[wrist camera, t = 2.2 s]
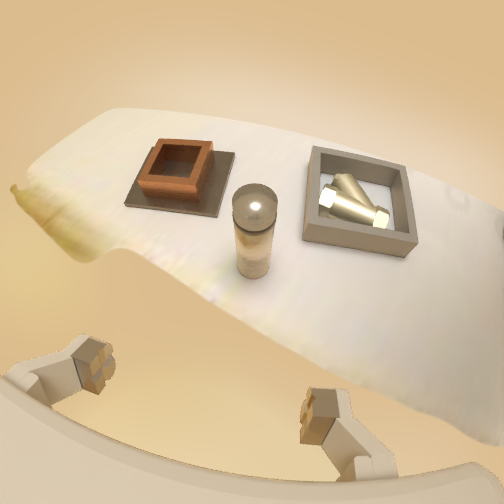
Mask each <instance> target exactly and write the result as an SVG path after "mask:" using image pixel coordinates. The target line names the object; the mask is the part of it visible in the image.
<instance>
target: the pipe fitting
mask: <svg viewBox="0 0 504 504" xmlns="http://www.w3.org/2000/svg"><path fill="white" fill-rule="evenodd" d="M318 216H320V217H324V218H328V217H329V218H331V219H336V220H341V221H347V222H352V223H358V224H363V225H368V226H373V227H379V228H384V229H386V226H387V224H388V220H389V216H390V213H389V211H388V210H386V209H384V208H382V207H380V206H377V207H375V206H374V205H373V204H372V202H371V201H370V199H369V198H368V196H367V195H366V194H365V192H364V191H363V189H362V188H361V187H360V185H359V184H358V182H357V181H356V180H355V178H354V177H353V176H352V175H351V174H349V173H346V174H339V173H338V174H336V175H334V179H333V182H332V184H331V185H329V184H325V186H324V188H323V190H322V193H321V195H320V198H319V209H318Z"/></svg>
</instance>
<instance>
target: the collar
mask: <svg viewBox="0 0 504 504" xmlns="http://www.w3.org/2000/svg"><path fill="white" fill-rule="evenodd" d="M234 158H235V153H233V152H223V151H213V143H212V141H200V140H183V139H158V141H157V143H156V145H155V147H152V148H151V150H150V152H149V154H148V156H147V157H146V159H145V161H144V163H143V165H142V167H141V169H140V171H139V173H138V175H137V177H136V179H135V181H134V183H133V185H132V187H131V189H130V191H129V193H128V196H127V198H126V200H125V202H124V204H125V206H130V207H138V208H147V209H155V210H163V211H171V212H179V213H187V214H194V215H202V216H209V217H217V216H218V213H219V209H220V206H221V202H222V198H223V195H224V192H225V188H226V185H227V181H228V178H229V174H230V171H231V168H232V164H233V161H234Z"/></svg>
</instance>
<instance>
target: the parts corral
mask: <svg viewBox="0 0 504 504" xmlns="http://www.w3.org/2000/svg"><path fill="white" fill-rule="evenodd" d="M320 172H322V173H327V174H333V175H336V174H338V173H339V174H346V173H349V174H351V175H352V176H353V177H354V178H355V179H358V180H363V181H367V182H372V183H376V184H381V185H385V186H389V187H390V189H391V197H392V204H393V213H394V222H395V231H394V230H389V229H384V228H379V227H373V226H368V225H363V224H358V223H352V222H347V221H341V220H336V219H330V218H324V217H318V209H319V188H320ZM302 240H304V241H310V242H317V243H323V244H329V245H335V246H341V247H347V248H353V249H359V250H365V251H370V252H376V253H382V254H388V255H393V256H399V257H405V256H406V255H407V254H408V253H409V252H410V251H411V250H412V249H413V248H414V247H415V246H416V245H417V244H418V238H417V230H416V223H415V216H414V210H413V204H412V198H411V192H410V187H409V182H408V177H407V173H406V168H405V166H402V165H399V164H395V163H391V162H387V161H383V160H379V159H375V158H371V157H367V156H362V155H358V154H353V153H348V152H344V151H339V150H334V149H328V148H323V147H318V146H313V147H312V152H311V156H310V161H309V166H308V180H307V193H306V205H305V217H304V228H303V238H302Z"/></svg>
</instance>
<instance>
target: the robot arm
mask: <svg viewBox="0 0 504 504" xmlns="http://www.w3.org/2000/svg"><path fill="white" fill-rule="evenodd" d="M112 352H113V348H112V345H111V344H110V343H107V342H104V341H101V340H99V339H97V338H94V337H90V336H88V335H86V334H80V335H79V336H78V337H76V338H75V339H74V340H73V341H72V342H71V343H70V344H69V345H68V346H67V347H66V348H65V349H64V350H63V351H62V352H59V351H58V352H54V353H51V354H47V355H43V356H40V357H36V358H33V359H29V360H26V361H22V362H18V363H17V364H15V365H14V366H13V367H12V368H11V369H10V370H9V371H8V372H7V373H6V374H5V375H4V376H3V377H2V376H1V375H0V504H504V489H503V486H502V484H501V482H500V480H499V478H498V477H497V476H496V475H494V474H493V473H492V472H490V471H489V470H487V469H486V468H485V467H483V466H482V465H480V464H478V463H476V462H470V463H465V464H462V465H458V466H454V467H450V468H446V469H441V470H437V471H432V472H427V473H422V474H416V475H411V476H404V477H399V476H398V472H397V468H396V463H395V459H394V455H393V453H392V452H391V451H390V450H389V449H388V448H387V447H386V446H385V445H384V444H383V443H382V442H381V441H379V440H378V439H377V438H376V437H375V436H374V435H373V434H372V433H371V432H370V431H369V430H368V429H367V428H366V427H365V426H364V425H363V424H362V423H361V422H360V421H359V420H357V419H353V413H352V408H351V403H350V398H349V393H348V390H347V389H336V388H335V389H334V388H321V387H309V389H308V391H307V399H306V400H304V402H303V405H302V408H301V414H300V423H301V424H302V427H301V430H300V443H301V444H311V445H321V447H322V449H323V450H324V451H325V453H326V454H327V456H328V457H329V459H330V460H331V461H332V463H333V464H334V466H335V467H336V468H337V470H338V471H339V473H340V474H341V476H340V477H339V478H338V479H337V480H336V481H335V482H311V481H291V480H278V479H269V478H260V477H253V476H246V475H239V474H233V473H227V472H222V471H217V470H212V469H207V468H203V467H199V466H195V465H191V464H186V463H183V462H179V461H176V460H172V459H169V458H165V457H162V456H159V455H156V454H153V453H150V452H147V451H144V450H141V449H138V448H135V447H132V446H130V445H127V444H124V443H122V442H120V441H117V440H115V439H112V438H110V437H108V436H105V435H103V434H100V433H98V432H96V431H94V430H92V429H90V428H87V427H86V426H83V425H81V424H79V423H77V422H75V421H73V420H71V419H69V418H68V417H66V416H64V415H62V414H60V413H58V412H57V411H55V410H53V409H52V406H51V405H52V404H54V403H56V402H59V401H61V400H63V399H65V398H67V397H69V396H71V395H73V394H75V393H77V392H79V391H81V390H82V389H84V390H87V391H89V392H92V393H94V394H97V395H99V394H100V392H101V391H102V389H103V388H104V387H105V381H106V380H109V379H111V377H112V376H113V374H114V371H115V359H114V358H113V356H112V355H111V354H112Z"/></svg>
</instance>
